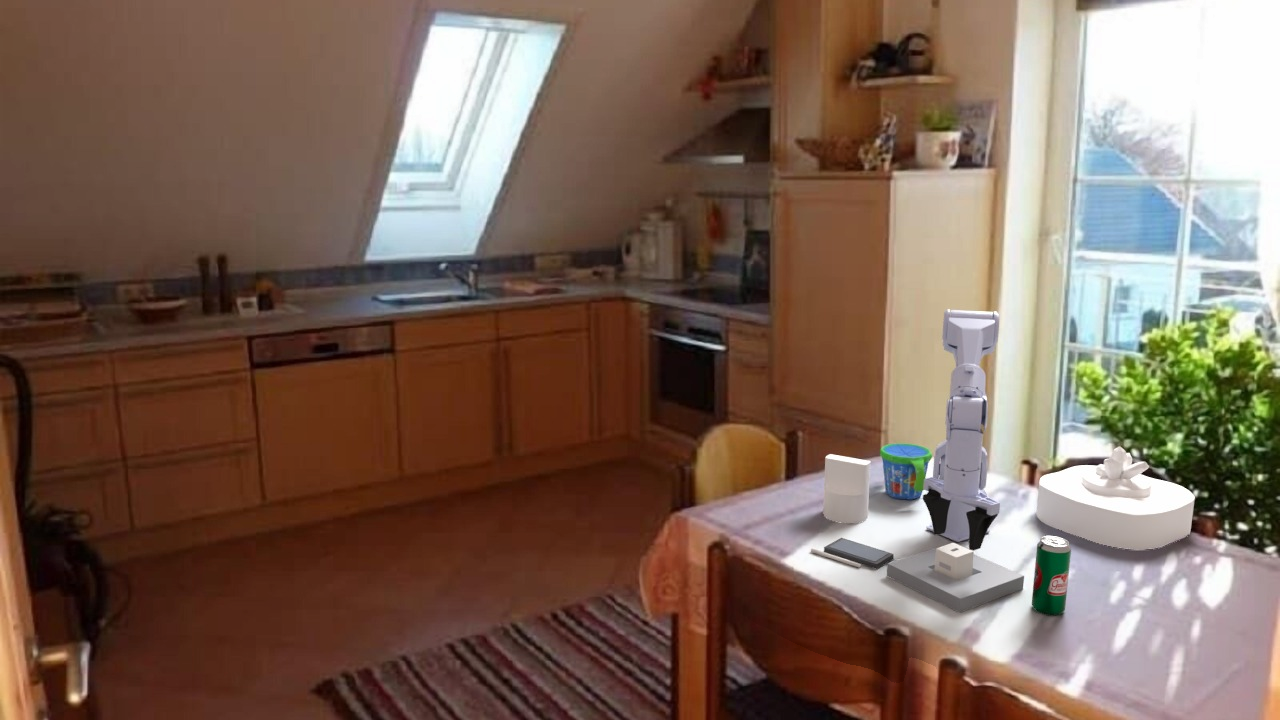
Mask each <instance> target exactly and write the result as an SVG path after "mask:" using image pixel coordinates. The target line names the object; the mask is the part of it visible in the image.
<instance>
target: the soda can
mask: <svg viewBox="0 0 1280 720" xmlns="http://www.w3.org/2000/svg"><path fill="white" fill-rule="evenodd" d="M1035 555H1036V556H1035V564H1034V565H1035V566H1034V573H1033V574H1034V575H1033V585H1032V586H1033V587H1032V595H1031V606H1032V607H1033V609H1034V611H1037V612H1038V613H1040V614H1041V615H1045V614H1046V616H1058V615H1062V613H1064V612H1065V610H1066V605H1067V593H1068V584H1069V583H1068V582H1069V575H1070V574H1069V573H1070V566H1071V565H1070V564H1071V555H1072V549H1071V547H1070V542H1069V540H1067V539H1066V538H1063V537H1059V536H1053V535H1046V536H1045V535H1044V536H1042V537H1040V538H1039V542H1037V545H1036V553H1035Z"/></svg>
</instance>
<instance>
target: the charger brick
mask: <svg viewBox="0 0 1280 720" xmlns="http://www.w3.org/2000/svg"><path fill="white" fill-rule="evenodd" d="M944 545H945V546H944ZM944 545H942V547H941V546H938V547H939V548H938V547H935V548H936V555H935V571H937V572H939V573H942V574H944V575H946V576H948V577H950V578H952V579H954V580H957V581H958V580H961V579H964V578H966V577H969V576H972V569H973V554H975V553H974V552H975V550H974V551H972V550H970V549H969V548H968V547H964V546H963V545H960V544H958V543H956V542H951V543H948V545H947V544H944Z"/></svg>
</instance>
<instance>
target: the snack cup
mask: <svg viewBox="0 0 1280 720" xmlns="http://www.w3.org/2000/svg"><path fill="white" fill-rule="evenodd" d="M879 454H880V457H881V459H882V468H883V477H884V487H885V493H886V494H887V495H889V496H890V497H892V498H894V499H900V500H910V501H911V500H914V499H918V498H920V496H922V495H923V494H922V493H923V491H925V490H924V489H923V485H924V479H926V478H927V477H926V476H927V471H928V467H929V463H930V461H931V460H932V458H933V453H932V451H931V450H930V449H929V448H927V447H925V446H922V445H919V444H913V443H900V442H899V443H889V444H885V445H883V446H882V447H881V448H880V449H879Z"/></svg>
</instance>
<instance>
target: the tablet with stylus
mask: <svg viewBox="0 0 1280 720" xmlns="http://www.w3.org/2000/svg"><path fill="white" fill-rule="evenodd" d="M810 552H811V553H814V554H815V555H819V556H822V557H825V558H829V559H831V560H835V561H837V562H840V563H844V564H846V565H848V566H849V565H850V566H852V567H855V568H858V569H860V568H862V566H865V567H868V568H870V569H874V570H878V569H880V568H881V567H883V566H884V565H886V564H887V563H890V562H892V561H893V560H894V553H892V552H889V551H886V550H882V549H879V548H876V547H872V546H870V545H867V544H863V543H859V542H856V541H853V540H850V539H847V538H844V537H840V538H838V539H836V540H835V541H833V542H831V543H829V544H827V545H825V546H823V551H821V550H818V549H815V548H811V549H810Z"/></svg>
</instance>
